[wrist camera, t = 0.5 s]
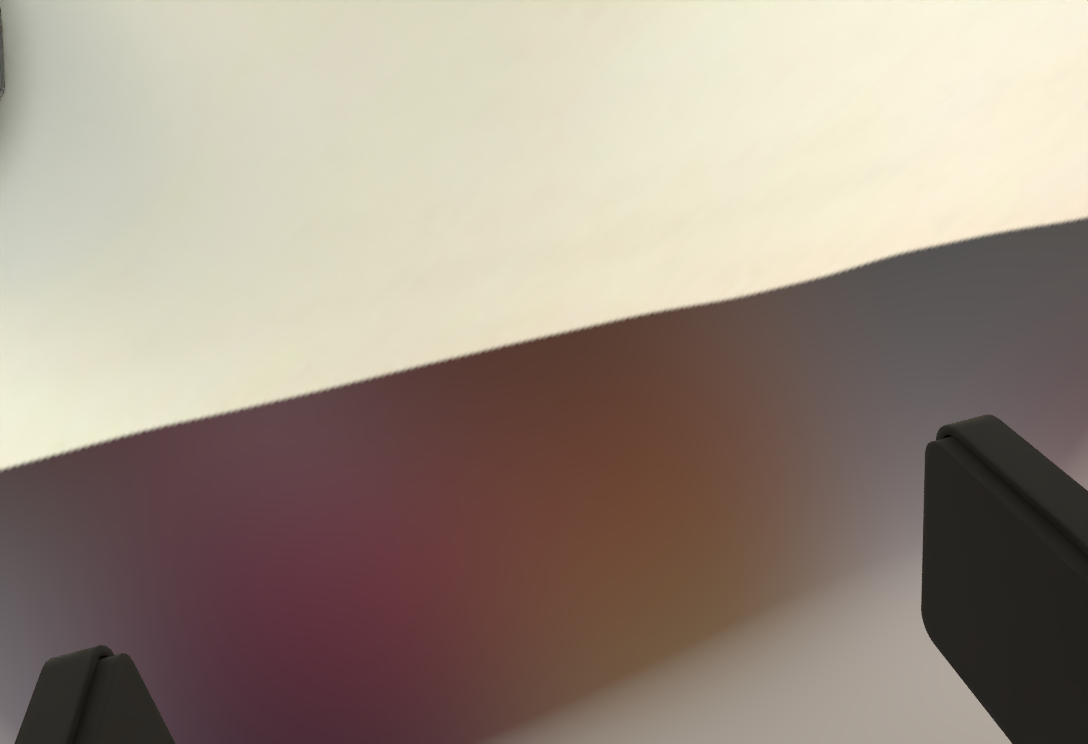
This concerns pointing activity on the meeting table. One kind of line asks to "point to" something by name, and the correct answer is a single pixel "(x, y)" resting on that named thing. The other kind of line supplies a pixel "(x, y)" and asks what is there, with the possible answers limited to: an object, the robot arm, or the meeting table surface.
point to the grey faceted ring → (1, 62)
